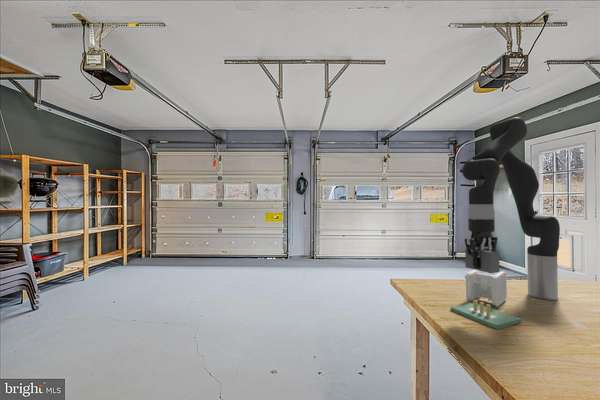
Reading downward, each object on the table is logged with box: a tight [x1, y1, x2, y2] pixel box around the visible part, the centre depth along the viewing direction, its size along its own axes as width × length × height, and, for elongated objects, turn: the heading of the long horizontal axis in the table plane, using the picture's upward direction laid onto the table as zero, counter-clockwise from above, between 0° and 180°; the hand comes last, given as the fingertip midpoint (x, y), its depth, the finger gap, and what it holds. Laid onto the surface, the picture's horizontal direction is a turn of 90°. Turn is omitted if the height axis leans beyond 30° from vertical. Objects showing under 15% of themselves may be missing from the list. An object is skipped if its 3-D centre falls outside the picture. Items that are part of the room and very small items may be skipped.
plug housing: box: [464, 248, 500, 274], centre depth 93 cm, size 4×9×7 cm, turn 22°
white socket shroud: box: [464, 269, 508, 308], centre depth 107 cm, size 15×11×12 cm
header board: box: [450, 299, 522, 330], centre depth 93 cm, size 12×16×5 cm
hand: (481, 267), depth 93 cm, fingers closed on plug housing, 4 cm apart
